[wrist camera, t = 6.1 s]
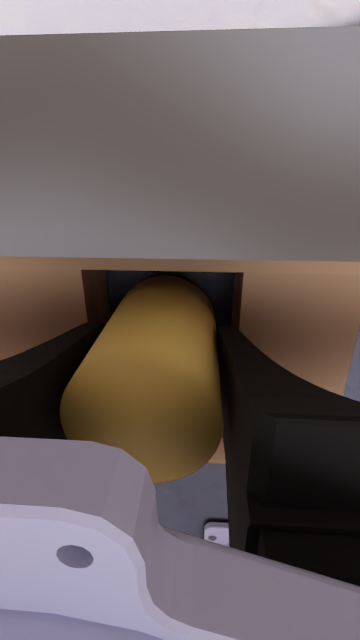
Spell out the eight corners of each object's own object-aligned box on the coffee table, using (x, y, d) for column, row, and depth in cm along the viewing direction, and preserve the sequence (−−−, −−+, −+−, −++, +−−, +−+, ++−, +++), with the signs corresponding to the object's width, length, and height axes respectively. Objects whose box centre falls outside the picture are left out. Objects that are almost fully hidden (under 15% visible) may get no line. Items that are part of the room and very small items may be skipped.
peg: (222, 281, 13) (235, 364, 7) (209, 369, 14) (211, 491, 9) (118, 270, 13) (54, 343, 7) (117, 359, 14) (64, 473, 9)
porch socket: (305, 421, 17) (365, 569, 11) (44, 410, 18) (-44, 540, 12) (368, 104, 11) (576, 20, 5) (-20, 109, 12) (-262, 42, 6)
